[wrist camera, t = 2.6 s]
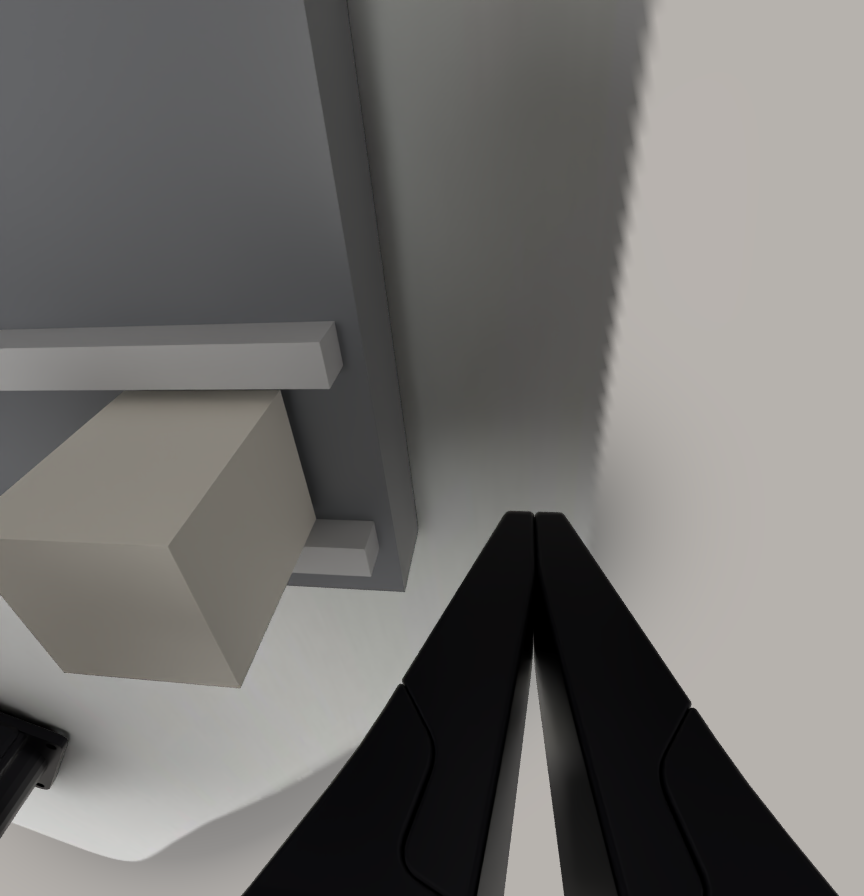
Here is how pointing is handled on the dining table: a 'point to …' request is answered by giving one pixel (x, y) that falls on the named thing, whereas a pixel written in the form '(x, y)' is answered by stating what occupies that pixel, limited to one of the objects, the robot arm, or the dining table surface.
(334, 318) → the switch panel
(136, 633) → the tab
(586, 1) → the dining table surface
